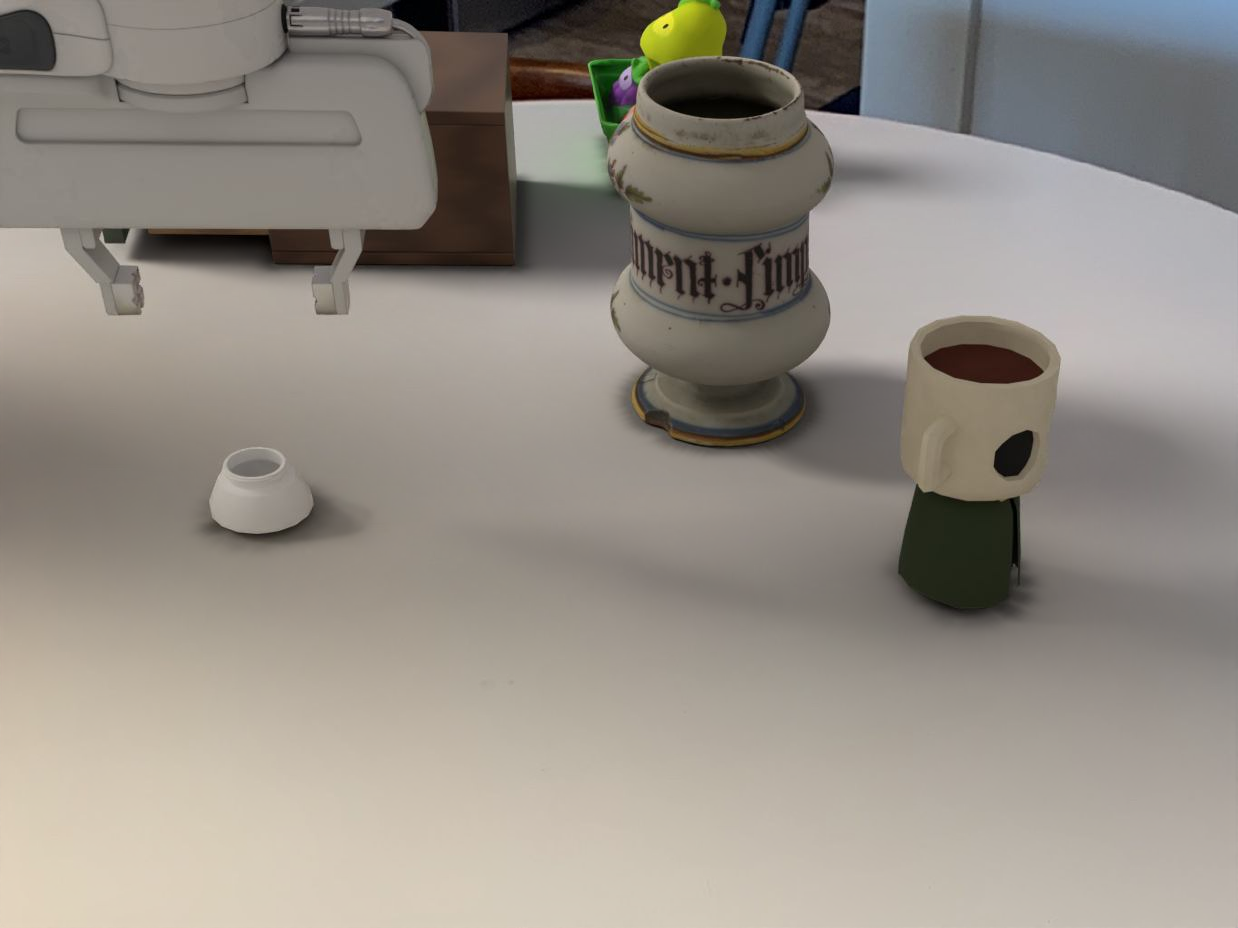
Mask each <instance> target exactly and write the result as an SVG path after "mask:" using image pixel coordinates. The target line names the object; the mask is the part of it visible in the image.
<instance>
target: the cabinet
mask: <svg viewBox="0 0 1238 928" xmlns="http://www.w3.org/2000/svg"><path fill="white" fill-rule="evenodd" d="M417 31H418V32H420V34H421V35H422V36H423V37H424V39H425V40H426V42H427V44H428V46H429V49H430V52H431V56H432V67H433V77H434V94H433V98H432V100H431V102H430V104H429V106H428V107H427V109H426V110H425V114H426V118H427V122H428V126H429V131H430V135H431V140H432V145H433V150H434V156H435V163H436V169H437V178H438V199H437V205H436V209H435V211H434V212H433V214H432V215H431V216H430V218H429V219H428V220H427V221H426V223H425V224H424V225H423V226H422V227H421V228H419V229H412V230H390V229H365V236H364V242H363V249H362V252H361V254H360V256H359V258H358V260H357V262H356V264H355V265H433V266H434V265H435V266H436V265H447V266H448V265H449V266H451V265H452V266H455V265H456V266H465V265H466V266H515V258H516V256H515V255H516V224H517V221H516V219H517V189H518V187H517V186H518V185H517V184H518V177H517V175H518V174H517V173H518V172H517V159H516V158H517V157H516V143H515V142H516V141H515V127H514V125H515V124H514V111H513V94H512V79H511V77H512V76H511V63H510V47H509V46H510V45H509V34H508V32H479V31H478V32H477V31H476V32H474V31H435V30H434V31H433V30H432V31H431V30H417ZM393 34H406V33H404V32H402V31H400V30H396V29H393ZM288 38H289V33H288ZM268 231H269V235H268V237H269V245H270V250H271V256H272V263H273V264H313V265H314V264H315V265H316V264H317V265H321V264H322V265H323V264H324V265H325V264H326V265H327V264H328V265H332V264H333V261H334V259H335V257H336V255H337V253H338V251H339V249H333V248H332V247H331V242H330V235H329V229H268Z"/></svg>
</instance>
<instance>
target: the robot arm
mask: <svg viewBox="0 0 1238 928" xmlns="http://www.w3.org/2000/svg"><path fill="white" fill-rule="evenodd" d="M393 30H396V31H402V32H404V33H406V34H393ZM418 31H419V30H418V29H417V28H415V27H414V26H413V25H411V24H410V23H408V22H406V21H403V20H401V19H399V18H393V13H392V11H391V10H387V9H383V8H377V7H364V8H363V7H362V8H359V9H357V10H353V9H349V10H348V9H340V8H339V9H338V8H337V9H336V8H332V7H331V8H329V7H322V6H321V7H320V6H297V5H296V6H295V5H292V6H288V5H286V4H285V3H284V1H283V0H0V229H59V230H60V235H61V238H62V242H63V246H64V250H65V251H66V252H67V254H69V255H70V256H71V257H72V258H73V259H74V261H76V263H77V264H78V265H79V267H81V268H82V269H83V270H84V271H85V273H86V274H87V275H88V276H89V277H90V278H91V279H92V280H93V281H94V282H95V283H97V284H98V285H99V288H100V294H101V297H102V300H103V306H104V310H105V313H106V315H107V316H141V315H142V313H143V311H142V309H143V308H144V307H145V291H144V288H143V287H142V285H141V284H140V283H141V279H142V278H141V273H140V269H139V266H138V265H127V264H125V265H123V264H122V265H121V264H120V263H119V262H118V260H117V259H116V258H115V257H114V256H113V254H112V253H111V252H110V250H109V249H108V248H107V247H106V246H105V243H103V242H102V240H101V239H100V237H101V235H102V230H103V228H130V229H145V230H146V229H147V230H148V229H329V235H330V242H331V247H332V248H333V249H339V251H338V253H337V255H336V257H335V259H334V261H333V264H331V265H314V268H313V276H312V278H311V290H312V297H313V298H314V299H315V301H314V310H315V314H316V315H317V316H348V315H349V313H350V309H351V308H350V307H351V293H350V292H351V291H350V284H349V277H350V276H351V273H352V272H353V269H354V268H355V266H356V265H357V264H356V262H357V260H358V258H359V256H360V254H361V252H362V249H363V242H364V236H365V229H390V230H412V229H419V228H421V227H422V226H423V225H424V224H425V223H426V221H427V220H428V219H429V218H430V216H431V215H432V214H433V212H434V211H435V209H436V205H437V199H438V178H437V169H436V163H435V156H434V150H433V145H432V140H431V135H430V131H429V126H428V122H427V118H426V114H425V110H426V109H427V107H428V106H429V104H430V102H431V100H432V98H433V94H434V77H433V67H432V56H431V52H430V49H429V46H428V44H427V42H426V40H425V39H424V37H423V36H422V35H421V34H420V32H418ZM288 33H289V38H288Z"/></svg>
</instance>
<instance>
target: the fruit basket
mask: <svg viewBox="0 0 1238 928" xmlns="http://www.w3.org/2000/svg"><path fill="white" fill-rule="evenodd" d="M721 6H722V4H721V2H720V1H718V0H680V1H679V2H678V5H677V7H676V8H674V9H673V10H671V11H669V12H667V13H665V14H663V15H661V16H660V17H658V18H656V19H655V20H653V21H652V22H651V23H649V24H648V25H647V26H646V28H645V29H644V31H643V33H642V35H641V37H640V41H639V46H640V48H641V51H642V52H643V54H644V55H641V56H640V57H637V58H636V57H633V58H606V59H594V60H591V61H589V62H588V63H587V67H588V71H589V77H590V81H591V84H592V89H593V95H594V102H595V105H596V109H597V113H598V118H599V122H600V126H601V130H602V133H603V135H604V136H605V137H606V141H607V144H608V145H609V142H610V140H611V137H612V135H613V133H614V132H615V130H616V129H617V127H618V126H619V125H620V124H621V122H622V121H623V120H624V119H625V118H626V117H627V116H629V115H630V114H631V113H632V112H633V110H634V107H635V104H636V97H637V90H638V86H639V83H640V81H641V79H642V78H643V77H644V76H645V74H647V73H648V72H649V71H650V70H652V69H654V68H655V67H657V66H659V65H662V64H664V63H668V62H671V61H675V60H679V59H685V58H692V57H703V56H723V46H724V43H725V40H726V35H727V22H726V20H725V18H724V15H723V13H722V11H720V8H721Z"/></svg>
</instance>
